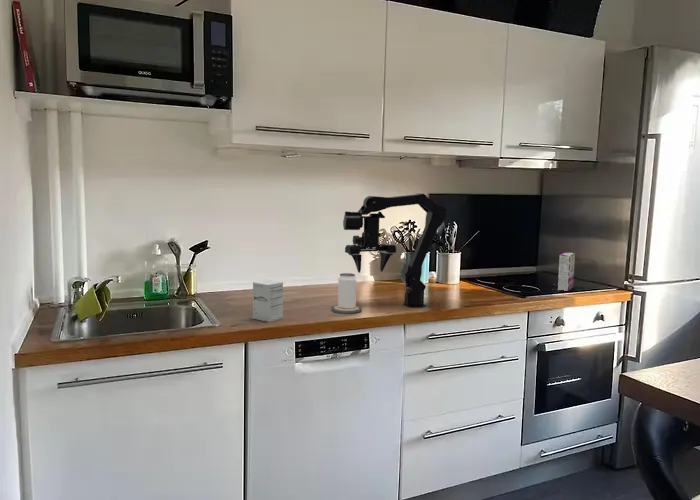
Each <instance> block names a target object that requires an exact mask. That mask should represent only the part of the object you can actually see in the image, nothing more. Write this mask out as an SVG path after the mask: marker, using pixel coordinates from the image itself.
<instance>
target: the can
mask: <svg viewBox="0 0 700 500" xmlns="http://www.w3.org/2000/svg"><path fill="white" fill-rule="evenodd" d="M337 280H338V282H337V283H338V285H337V306H338V307H339V308H342V309H353V308H355V307H356V306H357V277H356V274H355V273H351V272H350V273H349V272H344V273H340V274H339V276H338V279H337Z"/></svg>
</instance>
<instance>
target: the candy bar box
mask: <svg viewBox="0 0 700 500" xmlns="http://www.w3.org/2000/svg"><path fill="white" fill-rule="evenodd" d="M575 258H576V253H575V252H563V253H561V254H559V255H558V274H557V291H558V290H564V291H569V290H571V289H572V288H573V289H574V282H575V281H574V279H575V262H576V261H575V260H576V259H575ZM573 289H572V290H573ZM572 290H571V291H572ZM569 292H570V291H569Z"/></svg>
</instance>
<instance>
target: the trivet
mask: <svg viewBox="0 0 700 500" xmlns="http://www.w3.org/2000/svg"><path fill="white" fill-rule="evenodd" d="M362 311H363V308H362V307H360V306H359V305H356V307H355V308H353V309H342V308H339V307H338V305H334V306H332V307H331V312H333V313H336V314H340V315H356V314H359V313H362Z"/></svg>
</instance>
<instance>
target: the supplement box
mask: <svg viewBox="0 0 700 500" xmlns="http://www.w3.org/2000/svg"><path fill="white" fill-rule="evenodd" d="M283 293H284V281H278V280H272V279H261V280H258V281H253V282H252V319H253V320H258V321H263V322H266V323H271V322H274V321H279V320H282V319H283V310H284V308H283V307H284V305H283V303H284V301H283V300H284V298H283V297H284V294H283Z"/></svg>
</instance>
